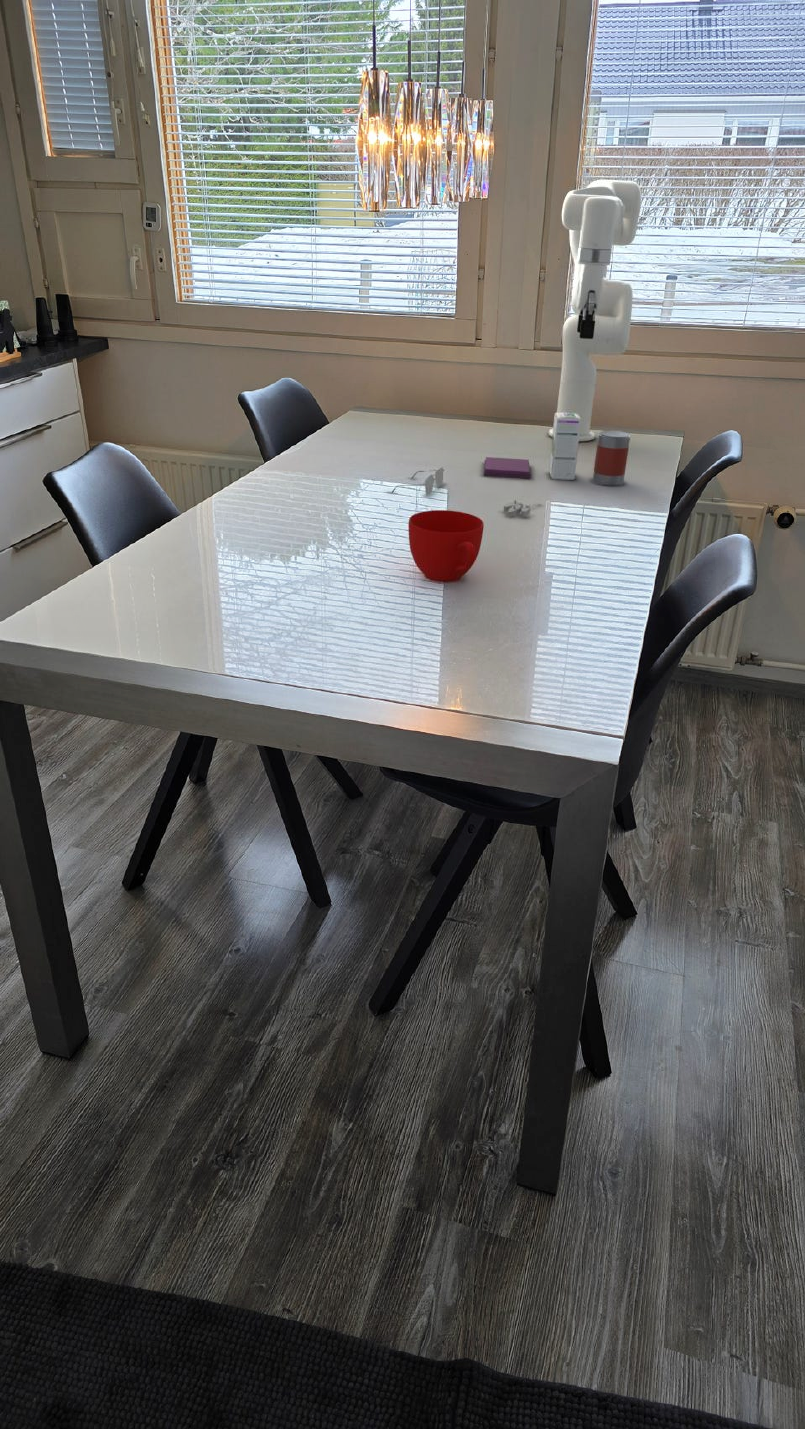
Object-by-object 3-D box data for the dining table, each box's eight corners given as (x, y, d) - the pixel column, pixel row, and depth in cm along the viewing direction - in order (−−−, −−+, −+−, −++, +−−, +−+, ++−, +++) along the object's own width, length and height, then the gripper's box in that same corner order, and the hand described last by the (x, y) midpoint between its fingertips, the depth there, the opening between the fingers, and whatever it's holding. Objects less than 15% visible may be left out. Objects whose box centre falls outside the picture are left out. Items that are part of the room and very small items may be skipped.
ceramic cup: (434, 601, 166) (438, 543, 161) (394, 567, 180) (396, 513, 175) (503, 592, 171) (508, 536, 166) (459, 560, 184) (463, 507, 180)
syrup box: (575, 480, 238) (582, 418, 231) (550, 479, 238) (557, 416, 231) (571, 474, 243) (579, 412, 236) (547, 472, 243) (554, 411, 236)
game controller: (499, 515, 210) (500, 503, 209) (514, 502, 220) (515, 490, 218) (525, 519, 208) (526, 507, 207) (539, 506, 218) (541, 494, 217)
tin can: (591, 476, 241) (597, 429, 236) (621, 478, 241) (628, 431, 235) (593, 485, 235) (600, 436, 229) (625, 487, 234) (632, 438, 229)
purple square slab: (484, 463, 248) (485, 456, 247) (528, 466, 248) (529, 459, 247) (483, 476, 238) (484, 469, 237) (529, 479, 237) (530, 472, 236)
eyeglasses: (425, 498, 219) (424, 479, 218) (391, 496, 222) (390, 478, 220) (444, 482, 231) (444, 465, 229) (412, 481, 234) (411, 463, 232)
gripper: (575, 253, 239) (567, 329, 247) (580, 259, 224) (571, 340, 232) (607, 255, 239) (597, 331, 247) (614, 261, 224) (603, 342, 232)
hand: (584, 335), depth 240 cm, fingers open, 9 cm apart
